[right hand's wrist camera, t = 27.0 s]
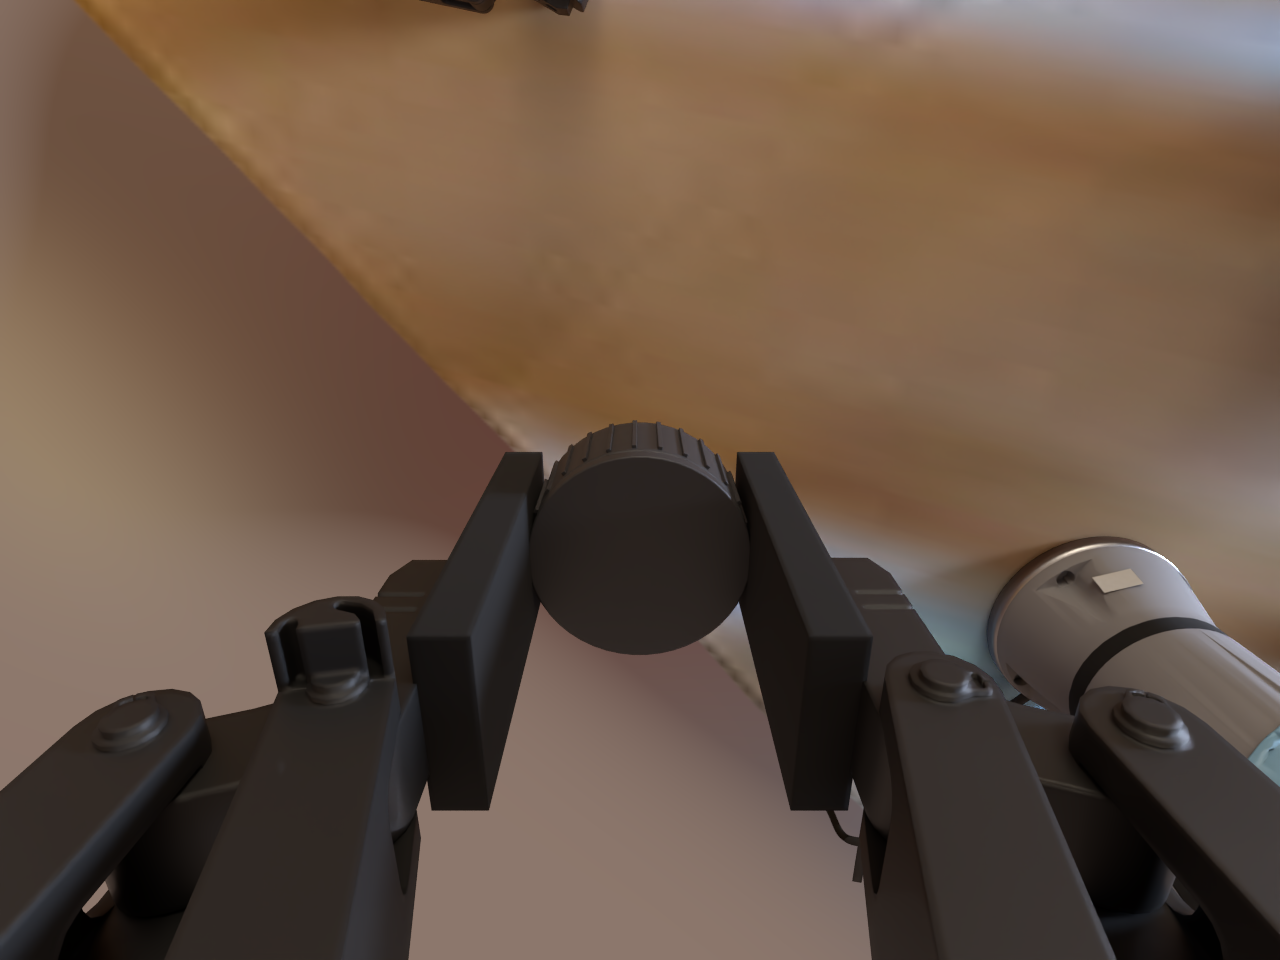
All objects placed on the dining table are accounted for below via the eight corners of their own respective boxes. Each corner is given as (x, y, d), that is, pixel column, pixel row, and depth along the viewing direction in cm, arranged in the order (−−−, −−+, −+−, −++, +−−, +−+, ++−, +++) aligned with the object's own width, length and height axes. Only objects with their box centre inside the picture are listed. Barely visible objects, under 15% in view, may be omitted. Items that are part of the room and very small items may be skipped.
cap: (538, 595, 15) (523, 652, 13) (540, 412, 14) (525, 445, 12) (728, 606, 15) (740, 663, 13) (751, 425, 14) (769, 461, 12)
